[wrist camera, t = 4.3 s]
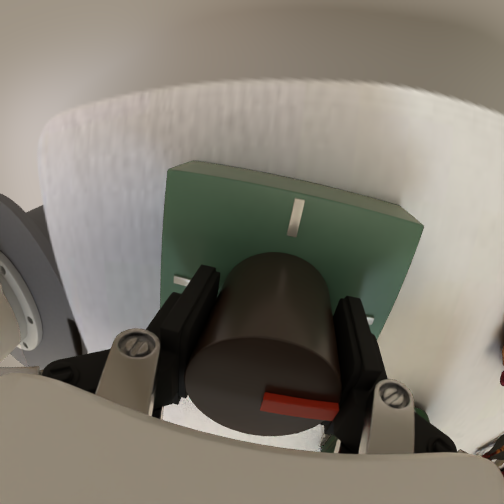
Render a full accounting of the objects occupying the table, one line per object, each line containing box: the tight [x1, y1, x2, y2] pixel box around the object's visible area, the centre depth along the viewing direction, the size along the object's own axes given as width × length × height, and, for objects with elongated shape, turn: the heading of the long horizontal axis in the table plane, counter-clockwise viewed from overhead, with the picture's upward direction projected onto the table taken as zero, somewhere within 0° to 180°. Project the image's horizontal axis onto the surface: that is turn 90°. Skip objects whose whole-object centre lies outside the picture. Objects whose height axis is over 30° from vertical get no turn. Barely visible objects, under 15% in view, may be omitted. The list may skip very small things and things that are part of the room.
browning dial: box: [184, 252, 342, 436], centre depth 10 cm, size 4×4×5 cm
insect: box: [481, 435, 504, 461], centre depth 19 cm, size 4×6×5 cm
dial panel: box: [160, 161, 424, 340], centre depth 13 cm, size 10×9×3 cm
